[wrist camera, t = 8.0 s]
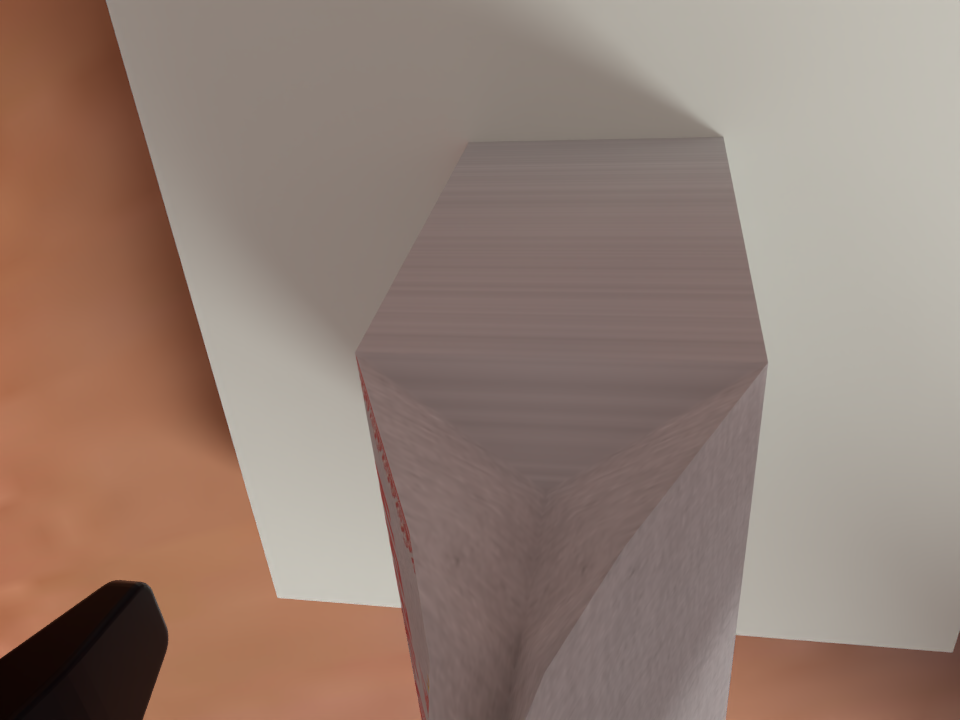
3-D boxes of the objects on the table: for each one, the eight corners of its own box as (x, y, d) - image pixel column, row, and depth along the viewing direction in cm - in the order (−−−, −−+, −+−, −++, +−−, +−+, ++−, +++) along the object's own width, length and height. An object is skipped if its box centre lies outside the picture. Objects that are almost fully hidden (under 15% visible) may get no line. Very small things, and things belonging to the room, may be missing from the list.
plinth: (914, 542, 19) (952, 652, 17) (320, 507, 22) (277, 597, 19) (1109, -200, 12) (1228, -200, 9) (174, -124, 14) (74, -107, 12)
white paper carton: (723, 137, 12) (862, 837, 4) (696, 497, 16) (741, 1257, 8) (468, 142, 13) (139, 750, 5) (498, 487, 17) (342, 1174, 8)
